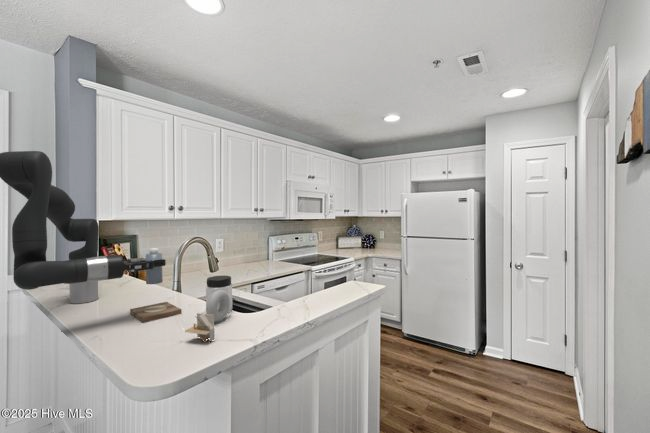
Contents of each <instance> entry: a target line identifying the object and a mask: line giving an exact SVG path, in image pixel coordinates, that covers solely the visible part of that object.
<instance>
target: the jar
mask: <svg viewBox="0 0 650 433" xmlns="http://www.w3.org/2000/svg"><path fill="white" fill-rule="evenodd" d="M217 290H223V291H225V292H226V293H227V294H228V295H229V298H230V307H229V311H228V314H230V313H231V312H232V310H233V282H232V276H230V275H214V276H209V277H208V278H207V279H206V286H205V305H206V304H207V301H208V299H209V297H210V296H211V295H212V293H214V292H215V291H217ZM218 308H219V303H218V307H217V310H218Z"/></svg>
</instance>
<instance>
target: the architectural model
mask: <svg viewBox="0 0 650 433" xmlns="http://www.w3.org/2000/svg"><path fill="white" fill-rule="evenodd" d="M195 318H196V323H193V326H192V327H189V328H187V329H185V330H184V333H191V334H196V335H197V337H200V338H201V339H200V340H201V341H203V340H204V341H206V339H208V338H210V340H209V342H210V341H212V340H214V339H215V336H216V334H215V322H214V315H210V314H206V313H199V312H197V313H196V315H195ZM204 341H203V342H204ZM206 342H207V341H206Z"/></svg>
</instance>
